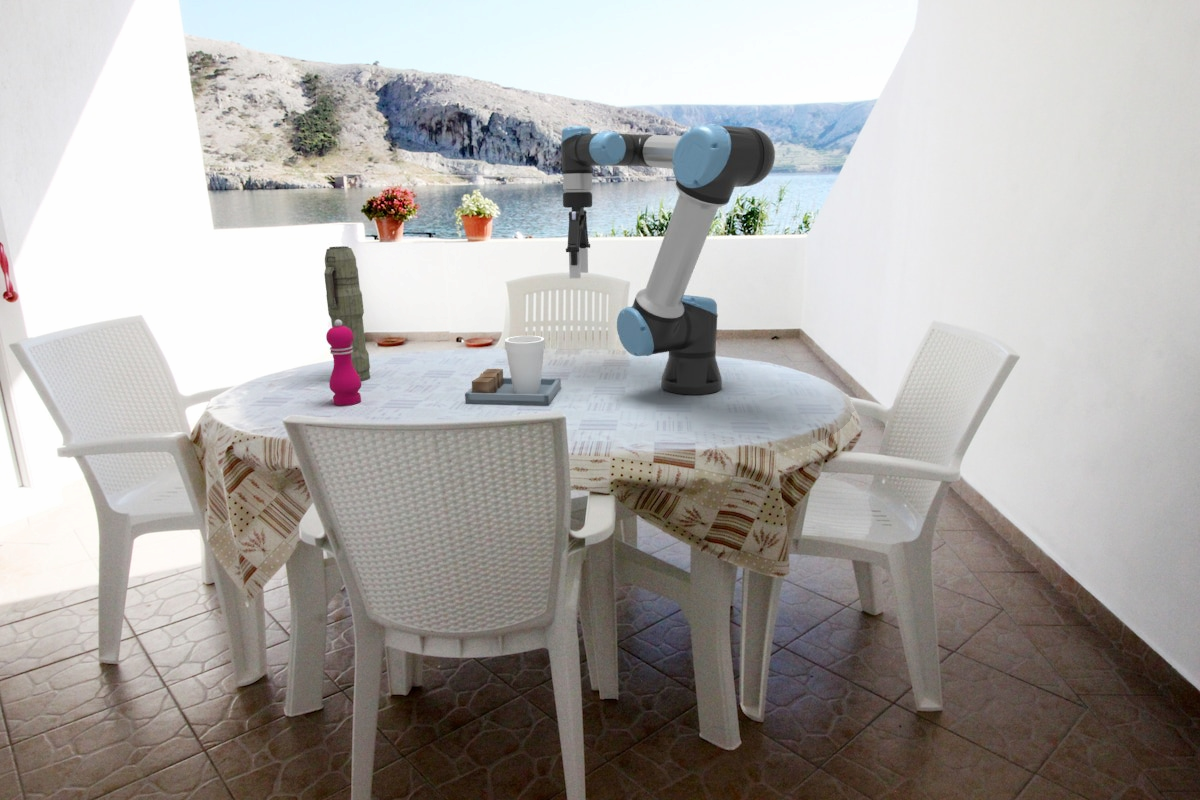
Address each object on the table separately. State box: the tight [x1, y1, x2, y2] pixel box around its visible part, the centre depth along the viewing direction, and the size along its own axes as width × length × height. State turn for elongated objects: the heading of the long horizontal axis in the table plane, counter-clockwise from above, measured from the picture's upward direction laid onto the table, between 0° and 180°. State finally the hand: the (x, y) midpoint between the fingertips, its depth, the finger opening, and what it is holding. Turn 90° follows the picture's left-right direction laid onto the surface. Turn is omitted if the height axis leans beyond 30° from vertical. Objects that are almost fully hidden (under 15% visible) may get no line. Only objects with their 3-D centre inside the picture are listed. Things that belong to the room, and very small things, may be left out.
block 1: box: [471, 376, 495, 393], centre depth 171 cm, size 4×4×4 cm
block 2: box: [478, 372, 498, 393], centre depth 175 cm, size 4×4×4 cm
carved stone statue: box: [323, 245, 371, 382], centre depth 188 cm, size 9×12×35 cm
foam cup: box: [504, 335, 546, 394], centre depth 173 cm, size 10×9×13 cm
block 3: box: [482, 368, 504, 388], centre depth 179 cm, size 4×4×4 cm
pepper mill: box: [325, 320, 362, 407], centre depth 168 cm, size 7×7×20 cm
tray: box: [464, 377, 562, 406], centre depth 175 cm, size 20×16×2 cm
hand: (579, 275), depth 188 cm, fingers open, 13 cm apart
